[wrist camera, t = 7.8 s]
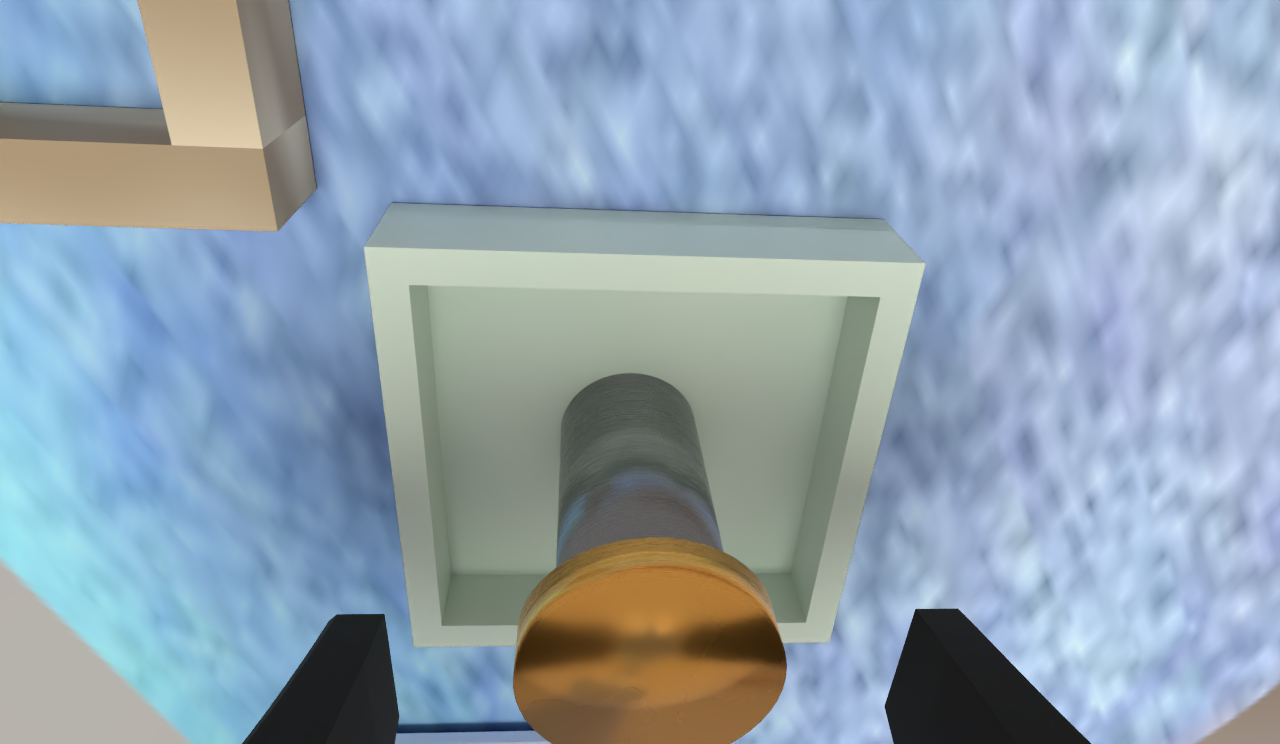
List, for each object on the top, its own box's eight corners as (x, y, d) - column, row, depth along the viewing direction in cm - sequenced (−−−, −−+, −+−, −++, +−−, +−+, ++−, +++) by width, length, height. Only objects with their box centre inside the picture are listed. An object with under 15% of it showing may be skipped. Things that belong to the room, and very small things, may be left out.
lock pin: (713, 501, 17) (770, 760, 12) (538, 505, 16) (519, 771, 11) (728, 348, 15) (804, 578, 10) (530, 350, 14) (505, 586, 10)
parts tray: (806, 573, 19) (829, 642, 17) (429, 575, 18) (413, 647, 16) (883, 219, 14) (926, 263, 13) (391, 202, 14) (364, 247, 12)
